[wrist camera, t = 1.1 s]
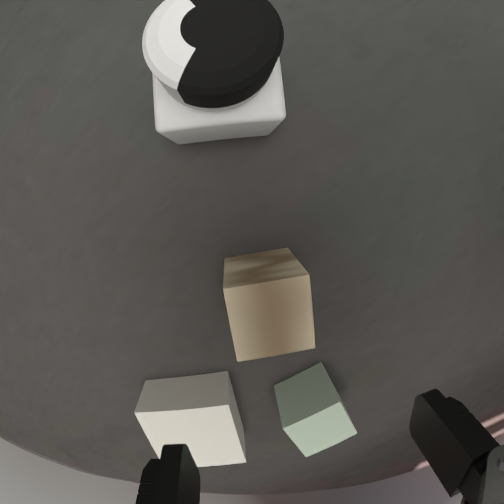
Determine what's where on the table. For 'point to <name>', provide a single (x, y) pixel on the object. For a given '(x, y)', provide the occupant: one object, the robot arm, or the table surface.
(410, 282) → the table surface
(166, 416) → the cream base block
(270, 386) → the table surface
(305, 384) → the sage block
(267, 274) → the maple block
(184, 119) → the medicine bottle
